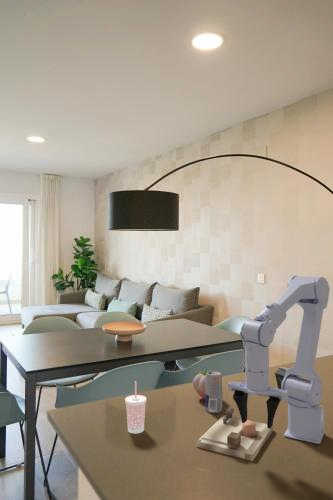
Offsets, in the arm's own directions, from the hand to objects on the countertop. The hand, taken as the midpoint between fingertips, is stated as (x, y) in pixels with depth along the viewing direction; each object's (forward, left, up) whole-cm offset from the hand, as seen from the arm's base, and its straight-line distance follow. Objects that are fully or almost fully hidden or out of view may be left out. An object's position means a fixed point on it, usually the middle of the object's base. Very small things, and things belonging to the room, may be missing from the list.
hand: (257, 424), depth 102 cm
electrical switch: (+3, -49, -9) cm, 49 cm away
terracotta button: (+5, -9, -7) cm, 13 cm away
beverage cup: (+35, +1, -9) cm, 36 cm away
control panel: (+8, -8, -8) cm, 14 cm away
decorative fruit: (+27, -31, -9) cm, 42 cm away
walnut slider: (+6, 0, -7) cm, 9 cm away
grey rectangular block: (+13, -14, -6) cm, 20 cm away
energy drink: (+21, -23, -9) cm, 32 cm away
